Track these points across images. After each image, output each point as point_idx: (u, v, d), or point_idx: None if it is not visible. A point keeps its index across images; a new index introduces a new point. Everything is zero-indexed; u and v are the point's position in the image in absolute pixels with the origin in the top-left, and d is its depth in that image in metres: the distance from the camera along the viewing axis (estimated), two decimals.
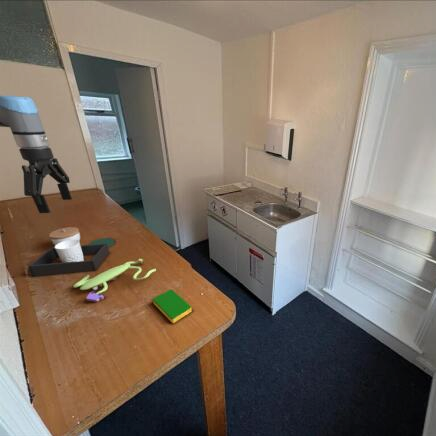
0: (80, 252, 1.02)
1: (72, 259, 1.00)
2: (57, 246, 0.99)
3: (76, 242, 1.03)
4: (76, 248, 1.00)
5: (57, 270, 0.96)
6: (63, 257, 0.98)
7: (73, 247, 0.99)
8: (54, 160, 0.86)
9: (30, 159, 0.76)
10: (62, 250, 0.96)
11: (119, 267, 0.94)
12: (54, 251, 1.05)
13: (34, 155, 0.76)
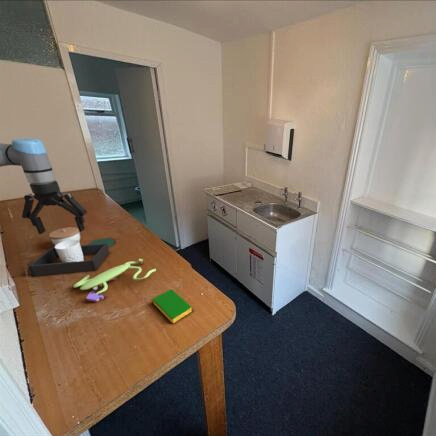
0: (80, 252, 1.02)
1: (72, 259, 1.00)
2: (57, 246, 0.99)
3: (76, 242, 1.03)
4: (76, 248, 1.00)
5: (57, 270, 0.96)
6: (63, 257, 0.98)
7: (73, 247, 0.99)
8: (32, 195, 0.89)
9: (58, 190, 0.90)
10: (62, 250, 0.96)
11: (119, 267, 0.94)
12: (54, 251, 1.05)
13: (58, 186, 0.91)
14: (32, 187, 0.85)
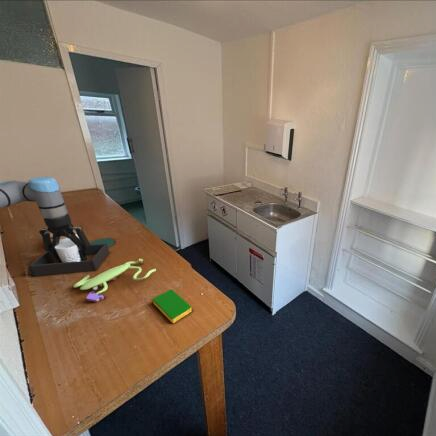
0: None
1: (72, 259, 1.00)
2: (57, 246, 0.99)
3: None
4: (76, 248, 1.00)
5: (57, 270, 0.96)
6: (63, 257, 0.98)
7: (73, 247, 0.99)
8: None
9: (69, 222, 0.96)
10: (62, 250, 0.96)
11: (119, 267, 0.94)
12: None
13: None
14: (46, 221, 0.91)
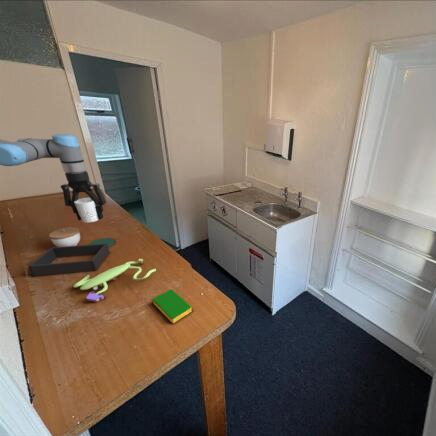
0: None
1: (90, 214, 1.08)
2: (76, 202, 1.07)
3: None
4: (93, 204, 1.08)
5: (57, 270, 0.96)
6: (82, 212, 1.06)
7: (91, 203, 1.07)
8: None
9: (88, 179, 1.04)
10: (81, 204, 1.04)
11: (119, 267, 0.94)
12: (54, 251, 1.05)
13: None
14: (67, 176, 0.99)
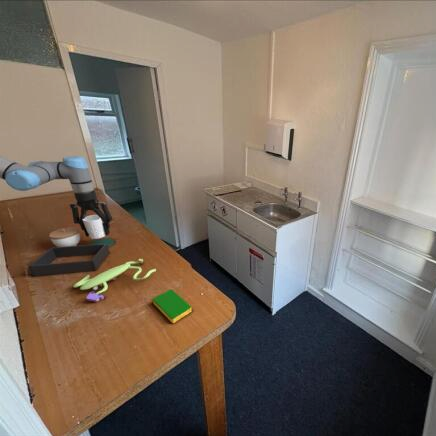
0: None
1: (97, 231, 1.13)
2: (84, 219, 1.12)
3: None
4: (101, 221, 1.13)
5: (57, 270, 0.96)
6: (89, 229, 1.11)
7: (98, 220, 1.11)
8: None
9: (95, 197, 1.09)
10: (89, 222, 1.09)
11: (119, 267, 0.94)
12: (54, 251, 1.05)
13: (95, 194, 1.10)
14: (76, 196, 1.04)
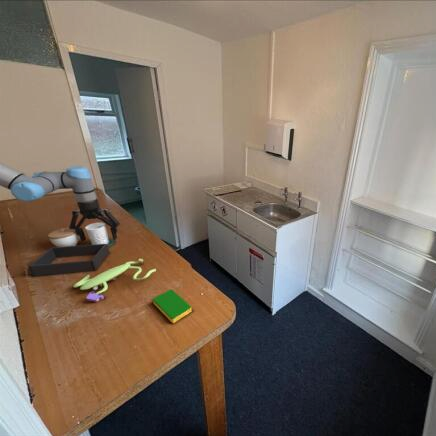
0: (106, 233, 1.17)
1: (100, 239, 1.14)
2: (87, 227, 1.14)
3: (102, 225, 1.18)
4: (103, 229, 1.15)
5: (57, 270, 0.96)
6: (92, 237, 1.13)
7: (101, 228, 1.13)
8: None
9: (98, 206, 1.11)
10: (92, 230, 1.11)
11: (119, 267, 0.94)
12: (54, 251, 1.05)
13: (98, 203, 1.12)
14: (79, 205, 1.06)
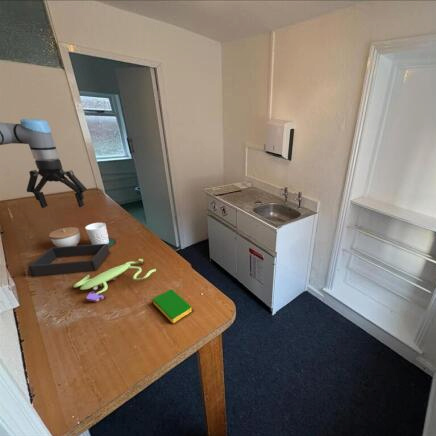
0: (106, 233, 1.17)
1: (100, 239, 1.14)
2: (87, 227, 1.14)
3: (102, 225, 1.18)
4: (103, 229, 1.15)
5: (57, 270, 0.96)
6: (92, 237, 1.13)
7: (101, 228, 1.13)
8: None
9: (60, 167, 0.99)
10: (92, 230, 1.11)
11: (119, 267, 0.94)
12: (54, 251, 1.05)
13: None
14: (37, 163, 0.94)
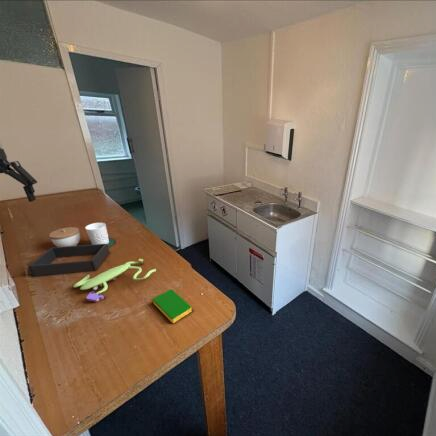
0: (106, 233, 1.17)
1: (100, 239, 1.14)
2: (87, 227, 1.14)
3: (102, 225, 1.18)
4: (103, 229, 1.15)
5: (57, 270, 0.96)
6: (92, 237, 1.13)
7: (101, 228, 1.13)
8: None
9: (4, 157, 0.90)
10: (92, 230, 1.11)
11: (119, 267, 0.94)
12: (54, 251, 1.05)
13: (4, 153, 0.90)
14: None
